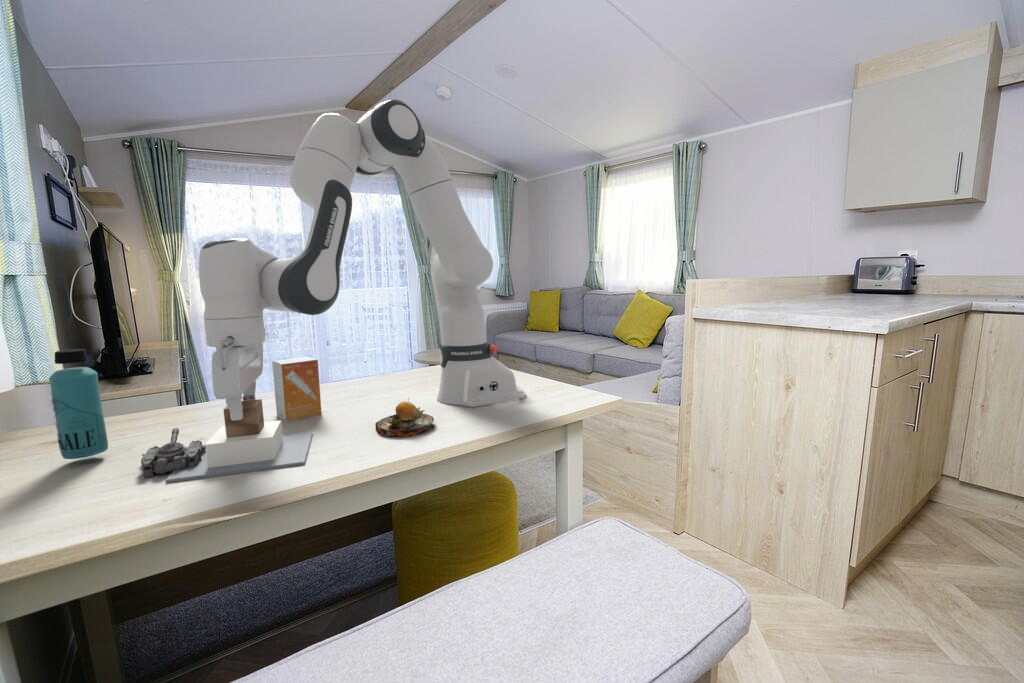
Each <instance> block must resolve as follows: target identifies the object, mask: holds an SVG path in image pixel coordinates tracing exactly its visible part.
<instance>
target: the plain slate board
mask: <svg viewBox="0 0 1024 683" xmlns="http://www.w3.org/2000/svg"><path fill="white" fill-rule="evenodd" d="M313 434H314V433H313V432H305V433H294V434H286V435H283V442H282V444H281V446H280V448H279V451H278V453H277V455H276V458H275V459H274V460H266V461H258V462H250V463H242V464H235V465H227V466H219V467H211V468H208V464H207V456H206V449H205V452H202V456H201V460H200V461H199V463H198V464H197V466H195V467H189V468H188V467H186V468H185V469H181V470H174V471H171V472H172V473H170V474H169V475H168V477H167V478H165V483H166V484H169V483H175V482H176V483H177V482H183V481H190V480H197V479H206V478H212V477H213V478H214V477H220V476H229V475H234V474H243V473H249V472H250V473H251V472H258V471H259V472H260V471H265V470H274V469H281V468H289V467H296V466H302V465H306V461H307V458H308V454H309V450H310V446H311V442H312V439H313V436H314V435H313ZM203 445H204V444H202V446H203Z"/></svg>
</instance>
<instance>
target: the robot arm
mask: <svg viewBox="0 0 1024 683" xmlns="http://www.w3.org/2000/svg"><path fill="white" fill-rule="evenodd" d="M391 167H392V168H393V169H394V170H395V171H396V172H397V173H398V174H399V176H400V177H401V178H402V181H403V185H404V188H405V190H406V192H407V196H408V198H409V200H410V204H411V206H412V208H413V211H414V213H415V215H416V218H417V220H418V223H419V225H420V228H421V230H422V231H423V232H424V234H425V235H426V236H427V238H428V240H429V242H430V244H431V245H432V247H433V249H434V252H435V255H434V257H433V260H432V264H431V268H432V270H431V271H432V272H433V279H434V285H435V287H434V288H435V292H436V293H435V294H436V298H437V303H438V310H439V318H440V319H439V321H440V322H439V323H440V324H439V325H440V326H439V327H440V344H439V349H438V350H439V364H440V367H441V370H440V380H439V381H440V382H439V387H438V388H439V389H438V393H437V396H436V400H437V401H438V402H440V403H442V404H446V405H454V406H455V405H456V406H463V407H468V408H476V407H481V406H487V405H494V404H501V403H506V402H511V401H510V400H512V401H516V400H515V399H518V400H522V399H521V398H523V399H525V398H526V391H525V390H524V389H523V388H522V387H519V386H517V381H516V378H515V375H514V372H513V371H512V369H511V368H509V367H508V366H506V364H505V365H504V363H502V362H501V361H500V360H498V359H497V358H495V357H494V356H493V355H494V354H497V353H498V352H499V351H500V350H499V347H498V346H497V345H495V344H490V343H488V342H486V330H485V328H486V327H485V322H486V321H485V311H484V307H483V306H482V301H481V298H480V293H479V289H478V287H480V286H481V285H482V284H484V283H485V282H487V280H488V279H489V278H490V276H492V272H493V269H494V261H493V257H492V255H491V253H490V251H489V249H487V247H485V246H484V244H483V243H482V241H481V239H480V237H479V235H478V232H476V230H475V228H474V226H473V225H472V223H471V221H470V219H469V217H468V216H467V214H466V212H465V209H464V207H463V203H462V202H461V199H460V196H459V194H458V191H457V188H456V185H455V182H454V181H453V178H452V175H451V172H450V171H449V169H448V168H449V167H448V166H447V165H446V161H445V159H444V158H443V156H442V154H441V153H440V150H439V149H438V147H437V146H436V144H435V143H434V142H433V141H432V140H431V139H428V138H426V134H425V131H424V129H423V126H422V124H421V121H420V119H419V118H418V116H417V114H416V113H415V112H414V110H413V109H412V108H411V107H410V106H409V105H407V103H405V102H404V101H402V100H398V99H389V100H386V101H382V102H380V103H379V104H377V105H376V106H374V108H373V109H371V110H369V111H368V112H366V113H365V114H364V115H363V116H361V118H359V120H358V121H357V122H353V121H352V120H350V119H349V118H348V117H346V116H344V115H342V114H339V113H335V112H328V113H327V112H326V113H323V114H321V115H320V116H318V117H317V119H316V120H315V121H314V122H313V124H312V125H311V127H310V128H309V130H308V131H307V133H306V134H305V136H304V137H303V140H302V141H301V144H300V146H299V148H298V150H297V152H296V155H295V157H294V160H293V163H292V165H291V169H290V175H289V182H290V185H291V189H292V190H293V192H294V194H295V195H296V196H297V197H298V199H299V200H300V201H302V203H304V204H306V205H307V206H308V207H309V208H312V209H313V217H312V221H311V223H310V224H311V225H310V229H309V232H308V235H307V239H306V240H307V241H306V244H305V247H304V249H303V250H302V252H300V253H299V254H298V255H297V256H294V257H292V258H291V257H290V258H289V257H288V258H280V256H277V255H273V254H271V253H269V252H268V251H265V250H263V249H261V248H260V247H259V246H257V245H256V244H255V243H253V241H252V240H251V239H250V238H246V237H235V238H234V237H233V238H225V239H218V240H212V241H209V242H206V243H205V244H204V245H203V246H201V248H200V251H199V256H198V277H199V279H198V280H199V281H198V282H199V289H200V294H201V296H202V298H203V301H204V312H203V324H204V333H205V342H206V346H207V347H210V348H215V350H214V351H213V353H212V355H211V378H212V380H211V381H212V390H213V395H214V397H215V399H217V400H225V403H226V406H228V408H229V411H230V418H231V420H233V421H235V420H241V419H242V418H243V417H244V407H242V401H248V400H257V399H256V387H257V379H259V378H260V376H261V375H262V374H263V370H264V344H263V343H265V342H266V327H265V321H264V309H265V310H269V311H276V312H277V311H279V312H288V313H289V312H290V313H299V314H304V315H307V316H308V315H309V316H316V315H317V316H318V315H320V314H323V313H325V312H327V311H328V310H329V309H330V308H331V307H332V306H333V305H334V304H335V302H336V301H337V298H338V296H339V293H340V286H341V285H340V282H341V280H340V278H341V276H340V273H341V272H340V270H341V264H342V263H341V262H342V257H343V252H344V248H345V244H346V239H347V234H348V229H349V226H350V221H351V215H352V209H353V197H352V193H351V186H352V184H353V181H354V178H355V176H356V173H357V174H359V175H363V176H374V175H378V174H380V173H382V172H384V170H387V169H389V168H391ZM524 397H525V398H524Z"/></svg>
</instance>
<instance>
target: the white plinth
mask: <svg viewBox="0 0 1024 683" xmlns="http://www.w3.org/2000/svg"><path fill="white" fill-rule="evenodd" d="M283 436H284V435H283V426H282V419H281V420H270V421H264V427H263V429H262V430H261V432H260V434H256V435H247V436H238V437H229V438H227V437H226V428H225V425H224V426H223V425H222V426H220V428H219V429H218V430H217V431H216V432H215V434H213V435H212V436H211V437H210V439H209V440H208V441H207V442H206V443H205V444H204V445H205V447H206V456H207V464H208V468H211V467H219V466H227V465H235V464H242V463H250V462H258V461H266V460H274V459H275V458H276V455H277V453H278V451H279V448H280V446H281V444H282V442H283Z"/></svg>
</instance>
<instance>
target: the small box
mask: <svg viewBox="0 0 1024 683" xmlns="http://www.w3.org/2000/svg"><path fill="white" fill-rule="evenodd" d="M271 363H272V374H273V375H272V376H273V385H274V388H273V389H274V400H275V407H276V409H275V410H276V411H275V412H276V416H277V417H278V418H280V419H281V420H283V421H284V422H289V421H294V420H299V419H302V418H306V417H307V418H308V417H311V416H312V417H313V416H316V415H320V414H321V415H322V402H321V387H320V386H321V384H320V374H319V359H317V358H314V357H311V356H302V357H295V358H294V357H292V358H287V359H280V360H279V359H278V360H272V362H271Z"/></svg>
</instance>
